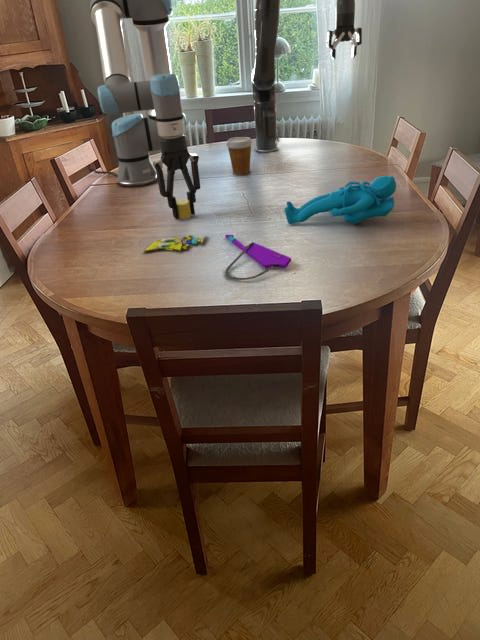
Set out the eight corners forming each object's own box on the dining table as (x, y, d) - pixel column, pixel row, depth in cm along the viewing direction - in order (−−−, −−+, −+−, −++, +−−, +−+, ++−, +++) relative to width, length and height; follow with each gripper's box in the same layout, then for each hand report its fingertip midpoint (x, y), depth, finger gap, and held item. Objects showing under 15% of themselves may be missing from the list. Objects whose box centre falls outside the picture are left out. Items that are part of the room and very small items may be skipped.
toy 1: (199, 248, 125) (143, 249, 127) (199, 251, 125) (144, 252, 127) (206, 233, 133) (154, 234, 135) (206, 236, 133) (154, 237, 136)
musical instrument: (267, 291, 107) (306, 245, 119) (265, 283, 105) (305, 238, 118) (184, 277, 119) (226, 237, 132) (181, 270, 118) (225, 230, 130)
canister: (176, 214, 149) (174, 200, 146) (191, 212, 149) (189, 198, 147) (176, 219, 145) (174, 205, 143) (191, 217, 145) (189, 203, 143)
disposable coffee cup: (225, 175, 181) (222, 142, 175) (234, 168, 188) (232, 136, 182) (248, 176, 178) (246, 143, 171) (257, 169, 185) (255, 136, 178)
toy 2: (287, 190, 142) (392, 164, 132) (296, 223, 147) (398, 200, 137) (279, 211, 128) (396, 183, 118) (290, 247, 133) (402, 223, 123)
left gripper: (146, 143, 128) (160, 225, 141) (206, 132, 134) (215, 212, 147) (138, 139, 134) (152, 218, 147) (196, 128, 140) (205, 205, 153)
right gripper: (331, 13, 186) (330, 60, 195) (366, 10, 188) (363, 57, 196) (324, 13, 192) (324, 59, 201) (358, 10, 194) (356, 56, 203)
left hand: (184, 215), depth 147 cm, fingers closed on canister, 5 cm apart
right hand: (343, 58), depth 199 cm, fingers open, 8 cm apart
